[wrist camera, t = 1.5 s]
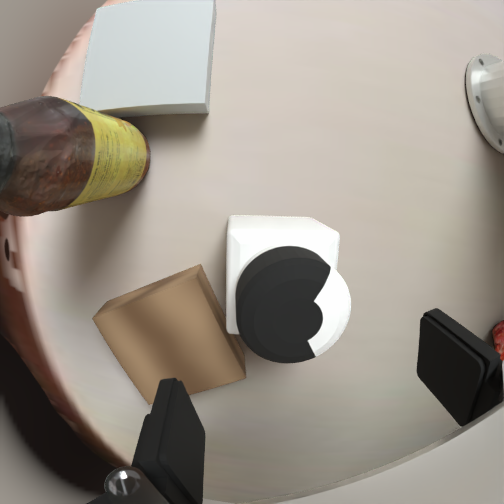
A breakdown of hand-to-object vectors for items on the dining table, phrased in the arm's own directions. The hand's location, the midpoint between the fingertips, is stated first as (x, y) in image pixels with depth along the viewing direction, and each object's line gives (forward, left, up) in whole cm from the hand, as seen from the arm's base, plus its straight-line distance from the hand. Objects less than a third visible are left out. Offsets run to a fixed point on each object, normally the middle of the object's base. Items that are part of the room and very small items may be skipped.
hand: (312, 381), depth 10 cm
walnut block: (+10, +5, -17) cm, 20 cm away
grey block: (+6, -19, -17) cm, 26 cm away
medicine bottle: (0, 0, -17) cm, 17 cm away
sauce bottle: (+10, -11, -17) cm, 23 cm away
